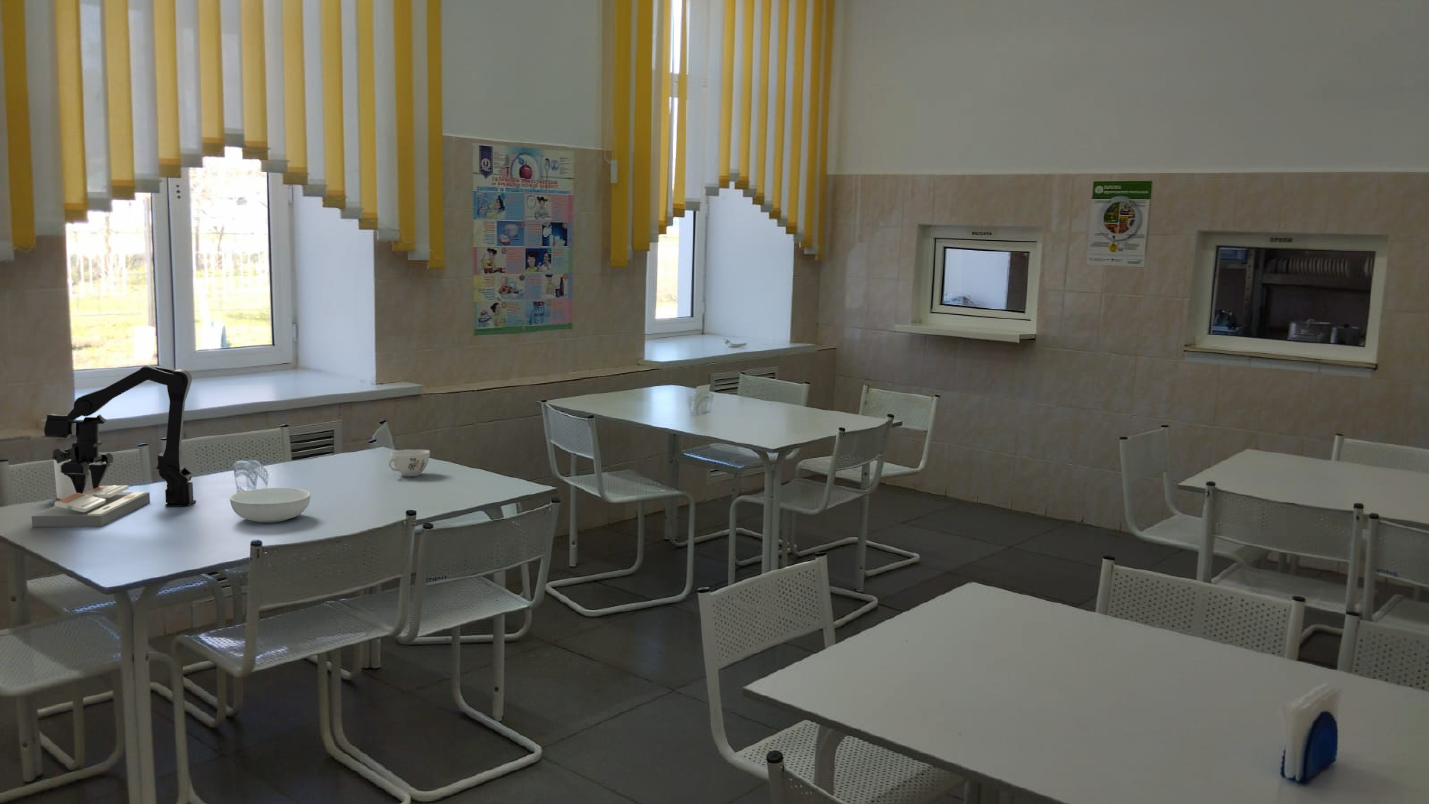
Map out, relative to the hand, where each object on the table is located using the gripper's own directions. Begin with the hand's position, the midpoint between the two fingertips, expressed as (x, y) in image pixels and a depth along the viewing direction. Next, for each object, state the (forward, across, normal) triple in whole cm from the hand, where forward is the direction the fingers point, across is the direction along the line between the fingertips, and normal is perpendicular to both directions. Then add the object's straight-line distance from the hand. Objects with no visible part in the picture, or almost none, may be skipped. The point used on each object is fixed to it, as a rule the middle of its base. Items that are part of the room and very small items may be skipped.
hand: (87, 492), depth 322 cm
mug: (+6, -17, -12) cm, 22 cm away
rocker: (0, +14, +5) cm, 15 cm away
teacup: (+1, -48, +81) cm, 94 cm away
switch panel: (+4, +7, +5) cm, 10 cm away
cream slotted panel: (0, 0, +5) cm, 5 cm away
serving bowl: (+2, +14, +56) cm, 58 cm away
